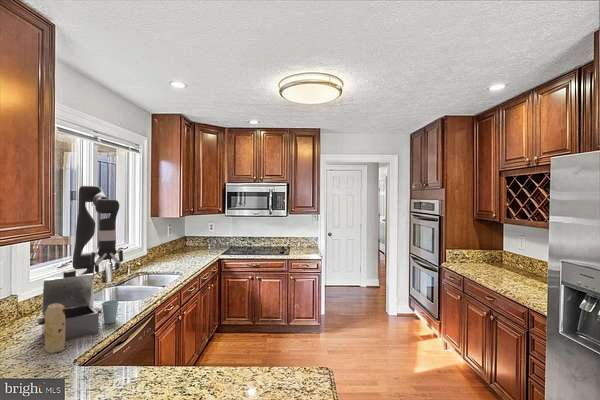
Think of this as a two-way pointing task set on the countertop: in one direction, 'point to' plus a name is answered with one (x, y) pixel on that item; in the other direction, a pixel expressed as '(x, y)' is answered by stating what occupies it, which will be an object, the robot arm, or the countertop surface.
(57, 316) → the food model
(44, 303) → the lid
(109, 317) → the cup
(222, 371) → the countertop surface
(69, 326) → the cooker pot
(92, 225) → the robot arm
